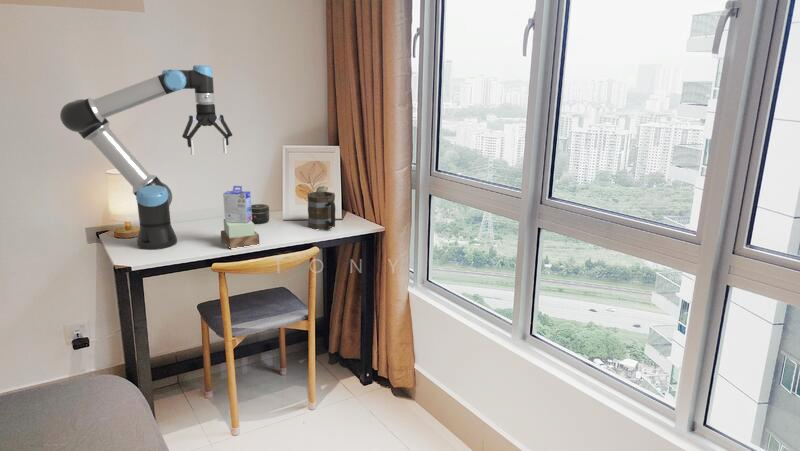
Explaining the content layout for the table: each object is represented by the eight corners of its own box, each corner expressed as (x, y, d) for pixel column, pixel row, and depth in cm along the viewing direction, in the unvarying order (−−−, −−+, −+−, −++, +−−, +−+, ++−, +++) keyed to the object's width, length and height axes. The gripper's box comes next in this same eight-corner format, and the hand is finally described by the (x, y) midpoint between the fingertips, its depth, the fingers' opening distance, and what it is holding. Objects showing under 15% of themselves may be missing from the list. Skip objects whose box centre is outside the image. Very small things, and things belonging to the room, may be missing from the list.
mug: (302, 224, 264) (301, 193, 260) (328, 220, 271) (327, 190, 267) (320, 234, 248) (319, 201, 244) (347, 230, 255) (347, 198, 251)
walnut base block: (230, 250, 226) (229, 238, 225) (221, 242, 236) (220, 230, 235) (259, 246, 232) (258, 234, 231) (249, 238, 243) (248, 226, 241)
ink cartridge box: (253, 219, 234) (250, 185, 229) (247, 223, 228) (245, 188, 224) (230, 218, 235) (227, 184, 230) (224, 222, 230) (221, 187, 225)
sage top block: (229, 238, 225) (228, 226, 224) (224, 230, 236) (223, 218, 234) (254, 235, 230) (253, 223, 228) (248, 227, 240) (247, 216, 239)
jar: (245, 224, 262) (244, 208, 260) (251, 218, 272) (250, 203, 270) (266, 225, 262) (265, 209, 260) (272, 219, 271) (271, 204, 269)
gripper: (175, 104, 226) (180, 156, 231) (237, 103, 238) (240, 153, 244) (172, 103, 232) (176, 154, 238) (232, 102, 244) (236, 151, 250)
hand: (209, 154), depth 241 cm, fingers open, 13 cm apart
